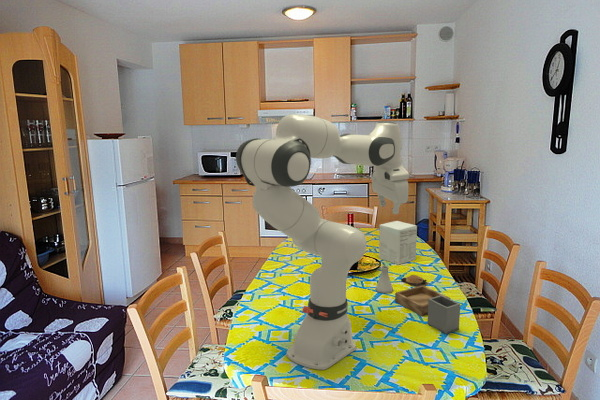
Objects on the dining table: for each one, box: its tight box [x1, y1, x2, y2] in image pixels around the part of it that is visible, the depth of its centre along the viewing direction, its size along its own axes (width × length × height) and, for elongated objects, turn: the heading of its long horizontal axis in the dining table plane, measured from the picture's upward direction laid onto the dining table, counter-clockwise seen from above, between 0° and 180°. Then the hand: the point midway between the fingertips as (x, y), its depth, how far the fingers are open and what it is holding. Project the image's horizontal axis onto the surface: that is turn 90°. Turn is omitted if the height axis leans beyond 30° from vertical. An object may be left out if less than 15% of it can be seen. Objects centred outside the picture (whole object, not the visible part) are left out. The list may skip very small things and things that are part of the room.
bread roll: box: [400, 274, 431, 288], centre depth 172 cm, size 11×8×4 cm
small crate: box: [426, 295, 461, 335], centre depth 134 cm, size 8×6×9 cm
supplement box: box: [378, 220, 418, 265], centre depth 200 cm, size 13×13×18 cm
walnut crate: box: [394, 285, 452, 317], centre depth 151 cm, size 14×14×4 cm
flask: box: [375, 265, 394, 294], centre depth 164 cm, size 7×7×10 cm
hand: (388, 209), depth 138 cm, fingers open, 8 cm apart
